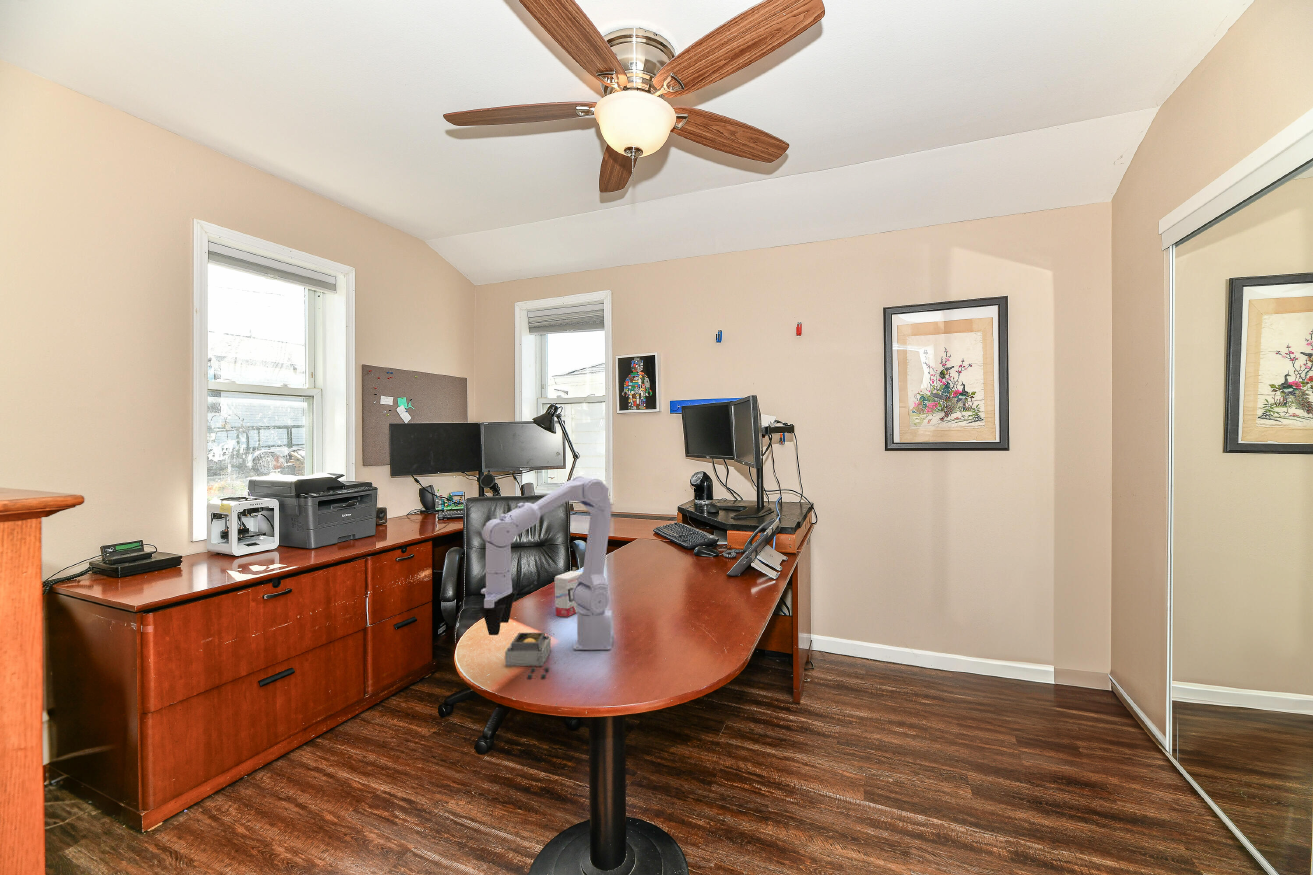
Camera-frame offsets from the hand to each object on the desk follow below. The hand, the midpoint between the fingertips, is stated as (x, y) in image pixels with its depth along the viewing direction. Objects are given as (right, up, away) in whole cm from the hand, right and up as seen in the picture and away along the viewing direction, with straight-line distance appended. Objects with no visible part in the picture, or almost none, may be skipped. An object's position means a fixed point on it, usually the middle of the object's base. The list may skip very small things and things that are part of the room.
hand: (499, 628), depth 125 cm
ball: (+5, -9, +7) cm, 13 cm away
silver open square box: (+5, -10, +7) cm, 13 cm away
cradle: (+10, -10, -2) cm, 14 cm away
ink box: (+10, -9, +39) cm, 41 cm away
